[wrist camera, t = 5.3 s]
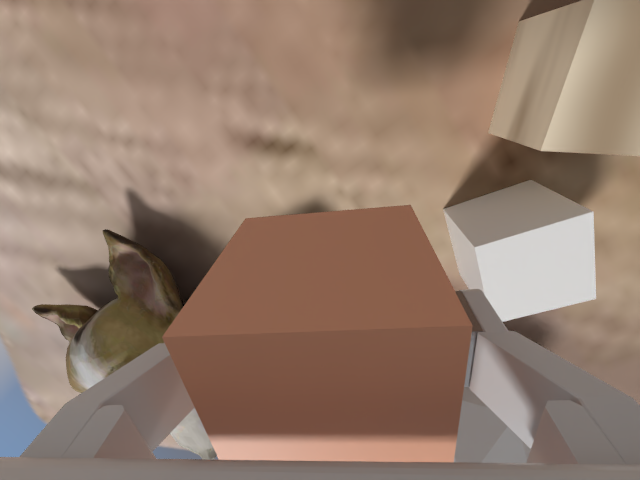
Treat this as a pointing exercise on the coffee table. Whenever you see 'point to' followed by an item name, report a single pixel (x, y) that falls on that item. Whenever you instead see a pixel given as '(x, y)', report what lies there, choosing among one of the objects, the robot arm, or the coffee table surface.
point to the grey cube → (525, 249)
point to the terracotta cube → (326, 341)
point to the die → (486, 435)
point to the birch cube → (574, 80)
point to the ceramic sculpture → (125, 327)
